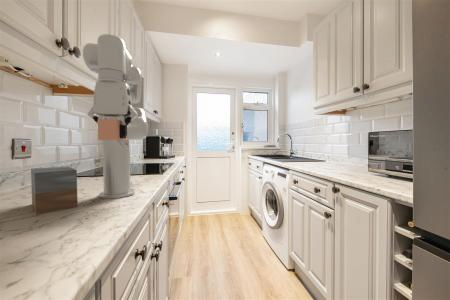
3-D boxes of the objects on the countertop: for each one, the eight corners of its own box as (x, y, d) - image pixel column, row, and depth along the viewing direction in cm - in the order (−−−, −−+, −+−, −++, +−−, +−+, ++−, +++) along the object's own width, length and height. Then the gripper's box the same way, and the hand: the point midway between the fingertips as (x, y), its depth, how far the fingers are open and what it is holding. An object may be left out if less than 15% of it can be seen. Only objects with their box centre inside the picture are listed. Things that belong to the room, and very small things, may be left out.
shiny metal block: (32, 204, 70) (30, 168, 69) (68, 198, 77) (67, 166, 77) (36, 214, 60) (34, 173, 60) (77, 206, 67) (76, 169, 67)
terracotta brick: (111, 140, 68) (111, 121, 68) (127, 140, 69) (126, 121, 69) (98, 139, 60) (97, 119, 60) (115, 139, 61) (115, 119, 61)
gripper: (144, 83, 68) (145, 138, 69) (90, 82, 67) (92, 138, 68) (136, 75, 61) (137, 138, 61) (75, 74, 60) (77, 138, 60)
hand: (113, 137), depth 65 cm, fingers closed on terracotta brick, 5 cm apart
